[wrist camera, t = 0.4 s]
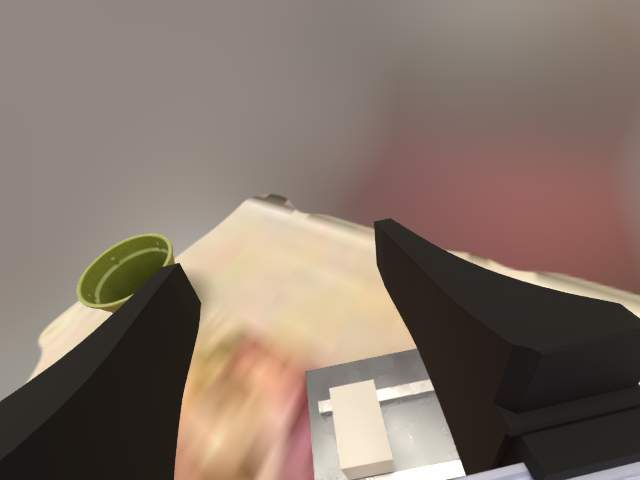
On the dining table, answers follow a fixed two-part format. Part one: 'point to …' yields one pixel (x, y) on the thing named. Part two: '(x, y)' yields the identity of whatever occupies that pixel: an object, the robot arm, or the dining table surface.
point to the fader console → (387, 418)
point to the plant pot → (123, 271)
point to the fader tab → (360, 431)
